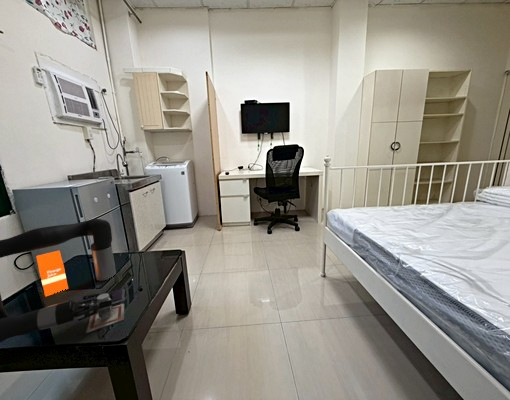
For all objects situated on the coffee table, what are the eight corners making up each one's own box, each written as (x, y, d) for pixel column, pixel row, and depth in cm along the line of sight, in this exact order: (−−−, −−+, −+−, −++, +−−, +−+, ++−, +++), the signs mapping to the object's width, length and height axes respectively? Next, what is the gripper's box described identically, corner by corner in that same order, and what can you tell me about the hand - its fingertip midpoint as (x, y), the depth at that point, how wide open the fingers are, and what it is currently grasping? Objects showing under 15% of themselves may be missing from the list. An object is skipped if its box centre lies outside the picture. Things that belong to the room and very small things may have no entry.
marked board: (86, 333, 80) (86, 331, 80) (91, 314, 91) (90, 313, 91) (123, 320, 86) (123, 319, 86) (124, 304, 97) (124, 303, 96)
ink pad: (92, 310, 93) (91, 307, 93) (95, 298, 102) (94, 295, 102) (124, 300, 99) (123, 297, 99) (124, 290, 108) (124, 287, 107)
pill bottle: (103, 311, 90) (100, 293, 89) (115, 310, 91) (112, 292, 89) (96, 319, 86) (92, 300, 84) (108, 318, 86) (105, 299, 85)
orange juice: (44, 291, 110) (35, 254, 107) (66, 283, 117) (59, 248, 113) (45, 297, 105) (36, 258, 102) (68, 288, 111) (61, 252, 108)
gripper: (49, 316, 73) (109, 299, 82) (60, 295, 86) (111, 282, 94) (53, 336, 75) (112, 317, 83) (64, 312, 87) (114, 298, 95)
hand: (111, 299), depth 89 cm, fingers closed on pill bottle, 4 cm apart
